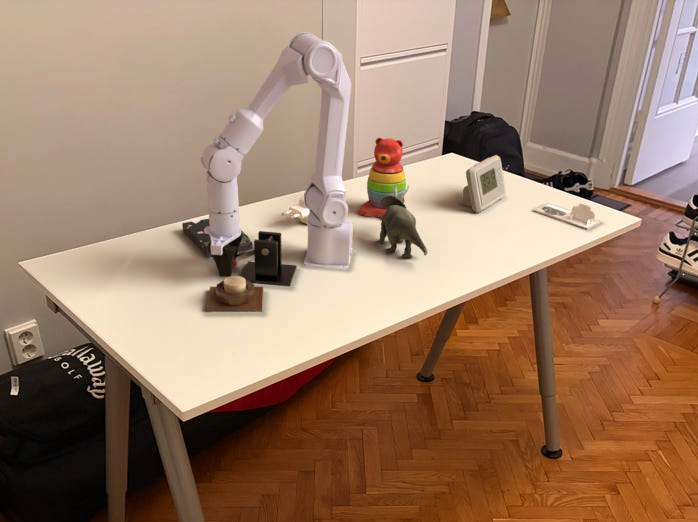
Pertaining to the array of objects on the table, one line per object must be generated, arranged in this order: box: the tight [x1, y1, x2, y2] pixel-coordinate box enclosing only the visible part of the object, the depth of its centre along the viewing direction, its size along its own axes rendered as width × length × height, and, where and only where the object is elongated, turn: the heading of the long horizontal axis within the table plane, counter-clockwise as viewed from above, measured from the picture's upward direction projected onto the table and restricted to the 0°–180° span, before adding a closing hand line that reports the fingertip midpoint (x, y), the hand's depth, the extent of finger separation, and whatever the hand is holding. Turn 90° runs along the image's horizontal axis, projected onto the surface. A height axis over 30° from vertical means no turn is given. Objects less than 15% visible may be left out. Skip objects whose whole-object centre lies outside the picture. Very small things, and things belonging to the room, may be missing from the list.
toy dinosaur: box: [375, 184, 428, 259], centre depth 156 cm, size 22×8×11 cm, turn 12°
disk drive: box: [181, 218, 253, 259], centre depth 156 cm, size 10×3×15 cm
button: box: [223, 275, 246, 293], centre depth 133 cm, size 4×4×2 cm
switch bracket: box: [240, 230, 297, 287], centre depth 142 cm, size 10×8×9 cm
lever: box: [232, 236, 275, 270], centre depth 142 cm, size 12×3×3 cm, turn 85°
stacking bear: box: [357, 137, 407, 219], centre depth 171 cm, size 11×10×18 cm
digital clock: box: [461, 154, 507, 213], centre depth 182 cm, size 16×9×11 cm, turn 134°
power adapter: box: [281, 196, 309, 225], centre depth 166 cm, size 11×5×6 cm, turn 137°
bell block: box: [206, 280, 264, 313], centre depth 134 cm, size 10×8×4 cm
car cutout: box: [533, 202, 602, 231], centre depth 179 cm, size 15×7×4 cm, turn 47°
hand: (227, 272), depth 145 cm, fingers closed on lever, 3 cm apart
